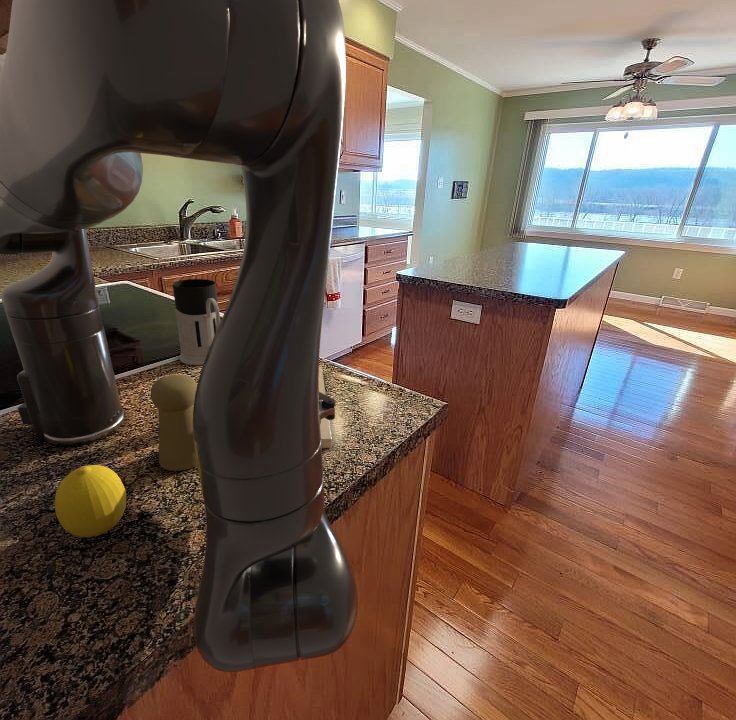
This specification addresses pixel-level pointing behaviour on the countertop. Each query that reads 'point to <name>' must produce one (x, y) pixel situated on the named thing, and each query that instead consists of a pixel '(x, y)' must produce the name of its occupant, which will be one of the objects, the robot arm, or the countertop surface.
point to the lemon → (90, 501)
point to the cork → (175, 421)
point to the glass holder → (196, 318)
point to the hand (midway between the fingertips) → (287, 380)
